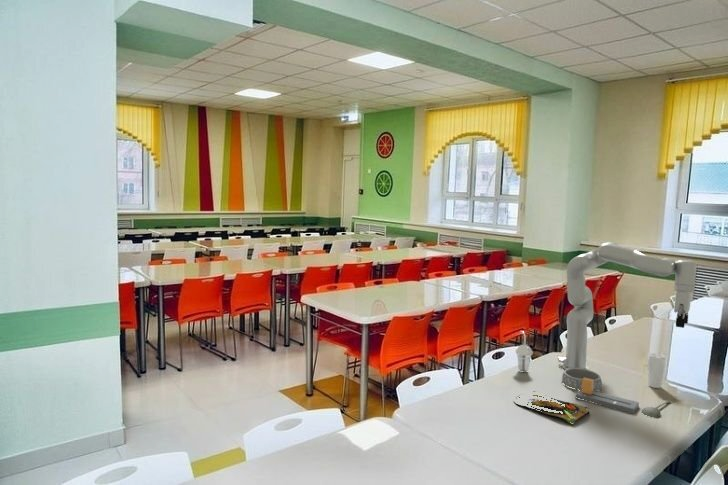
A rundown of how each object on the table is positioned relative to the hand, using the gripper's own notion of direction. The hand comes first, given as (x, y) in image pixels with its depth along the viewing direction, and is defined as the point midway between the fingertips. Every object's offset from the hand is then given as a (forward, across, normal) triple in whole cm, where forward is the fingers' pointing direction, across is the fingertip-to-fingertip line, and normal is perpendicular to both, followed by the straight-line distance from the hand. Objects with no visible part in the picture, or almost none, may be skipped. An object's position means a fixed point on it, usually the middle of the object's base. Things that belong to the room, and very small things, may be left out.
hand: (681, 324), depth 225 cm
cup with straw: (+31, +22, -64) cm, 74 cm away
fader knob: (+29, +35, -29) cm, 54 cm away
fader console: (+31, +35, -21) cm, 51 cm away
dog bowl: (+32, +20, -36) cm, 52 cm away
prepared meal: (+32, +57, -37) cm, 75 cm away
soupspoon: (+32, +28, -2) cm, 42 cm away
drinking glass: (+31, 0, -9) cm, 33 cm away
